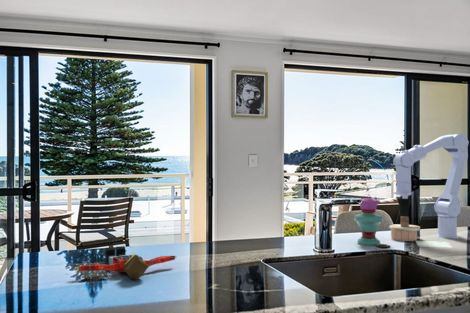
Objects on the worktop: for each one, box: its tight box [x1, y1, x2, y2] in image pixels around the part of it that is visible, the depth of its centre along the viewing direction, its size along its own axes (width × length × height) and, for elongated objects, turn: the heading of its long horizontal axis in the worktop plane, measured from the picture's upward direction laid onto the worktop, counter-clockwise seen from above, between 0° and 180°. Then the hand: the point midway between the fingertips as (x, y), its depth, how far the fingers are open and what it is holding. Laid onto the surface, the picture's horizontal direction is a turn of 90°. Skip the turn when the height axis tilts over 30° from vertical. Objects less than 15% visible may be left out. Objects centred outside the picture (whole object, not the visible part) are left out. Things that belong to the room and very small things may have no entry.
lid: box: [388, 215, 421, 232], centre depth 188 cm, size 12×12×5 cm
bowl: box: [390, 229, 418, 242], centre depth 188 cm, size 10×10×4 cm
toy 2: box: [354, 197, 384, 247], centre depth 180 cm, size 11×11×18 cm
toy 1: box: [74, 245, 177, 281], centre depth 140 cm, size 31×8×30 cm
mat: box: [415, 240, 454, 249], centre depth 176 cm, size 12×12×1 cm
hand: (403, 214), depth 188 cm, fingers open, 7 cm apart
